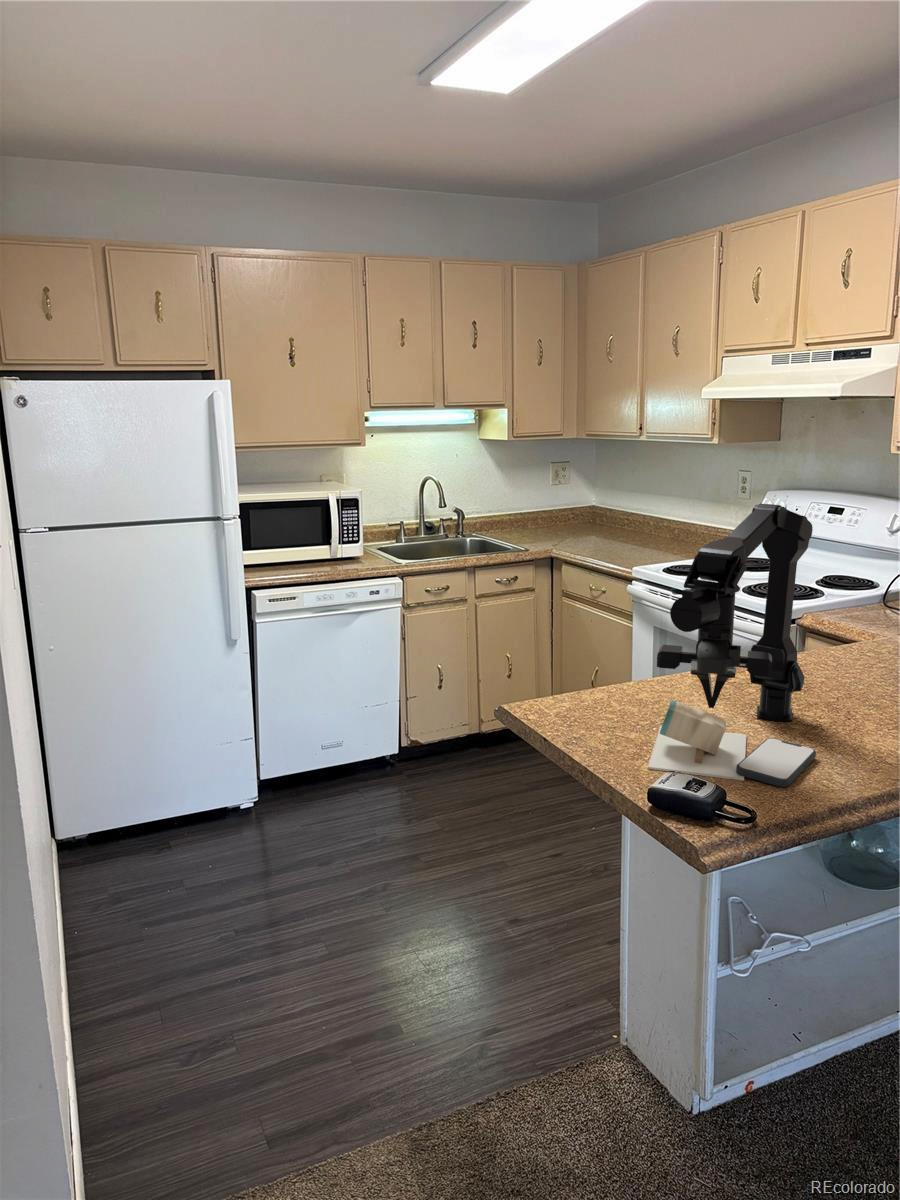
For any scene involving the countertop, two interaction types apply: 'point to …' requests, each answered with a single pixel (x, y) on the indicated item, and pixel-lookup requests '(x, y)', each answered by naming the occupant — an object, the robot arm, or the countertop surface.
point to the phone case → (776, 762)
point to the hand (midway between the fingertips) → (711, 707)
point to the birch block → (693, 727)
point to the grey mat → (699, 757)
